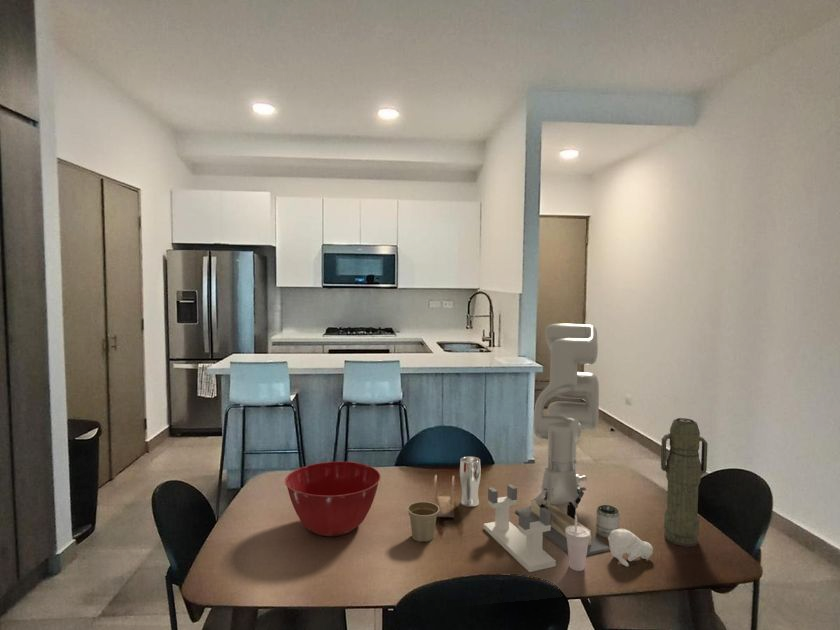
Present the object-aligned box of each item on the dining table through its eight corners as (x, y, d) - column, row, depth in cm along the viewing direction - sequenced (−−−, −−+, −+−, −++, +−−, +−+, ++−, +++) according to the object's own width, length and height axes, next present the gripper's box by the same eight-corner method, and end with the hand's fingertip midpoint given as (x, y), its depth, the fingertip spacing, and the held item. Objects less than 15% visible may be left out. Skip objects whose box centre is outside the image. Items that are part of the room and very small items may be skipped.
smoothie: (560, 560, 137) (561, 509, 136) (583, 559, 137) (585, 509, 136) (569, 574, 130) (570, 521, 129) (593, 573, 131) (595, 520, 130)
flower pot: (443, 532, 152) (443, 504, 152) (433, 547, 143) (433, 517, 143) (413, 527, 155) (413, 499, 155) (402, 542, 146) (402, 512, 146)
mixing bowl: (333, 498, 176) (333, 454, 175) (399, 520, 159) (399, 472, 158) (266, 530, 153) (265, 480, 152) (334, 560, 136) (334, 504, 135)
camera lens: (595, 536, 150) (596, 510, 150) (596, 527, 156) (597, 501, 155) (618, 540, 148) (619, 514, 147) (618, 530, 154) (619, 505, 153)
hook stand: (506, 524, 157) (507, 481, 157) (555, 566, 134) (556, 516, 133) (483, 528, 155) (484, 484, 154) (529, 572, 131) (530, 521, 130)
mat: (546, 506, 170) (546, 503, 170) (609, 550, 142) (610, 547, 142) (515, 511, 166) (515, 509, 166) (574, 558, 138) (574, 555, 138)
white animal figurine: (606, 524, 139) (646, 525, 141) (603, 555, 139) (643, 555, 141) (619, 535, 133) (661, 536, 135) (616, 567, 133) (657, 567, 135)
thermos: (709, 547, 144) (714, 424, 142) (666, 545, 145) (670, 424, 143) (695, 532, 153) (699, 416, 151) (654, 530, 154) (658, 415, 151)
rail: (541, 509, 166) (542, 497, 166) (590, 544, 144) (591, 531, 143) (531, 511, 165) (531, 499, 164) (579, 547, 142) (579, 533, 142)
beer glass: (480, 499, 175) (480, 456, 175) (480, 508, 169) (481, 463, 168) (459, 498, 176) (460, 455, 175) (459, 507, 169) (459, 462, 168)
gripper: (576, 457, 159) (575, 512, 161) (528, 464, 153) (527, 521, 154) (592, 465, 152) (591, 522, 153) (542, 472, 146) (541, 532, 147)
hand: (559, 521), depth 154 cm, fingers open, 8 cm apart
